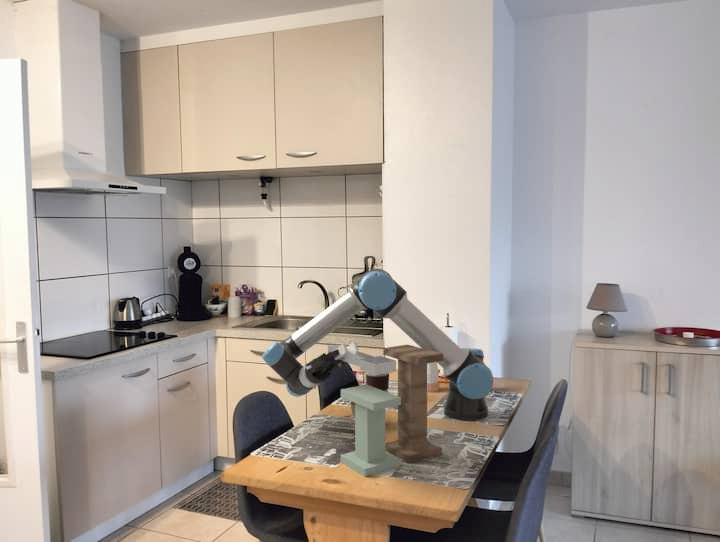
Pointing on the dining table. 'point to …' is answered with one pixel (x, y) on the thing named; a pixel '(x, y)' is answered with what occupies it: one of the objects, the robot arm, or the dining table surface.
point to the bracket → (367, 361)
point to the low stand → (370, 430)
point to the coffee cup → (378, 381)
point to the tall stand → (412, 403)
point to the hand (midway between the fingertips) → (350, 347)
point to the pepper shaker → (432, 377)
